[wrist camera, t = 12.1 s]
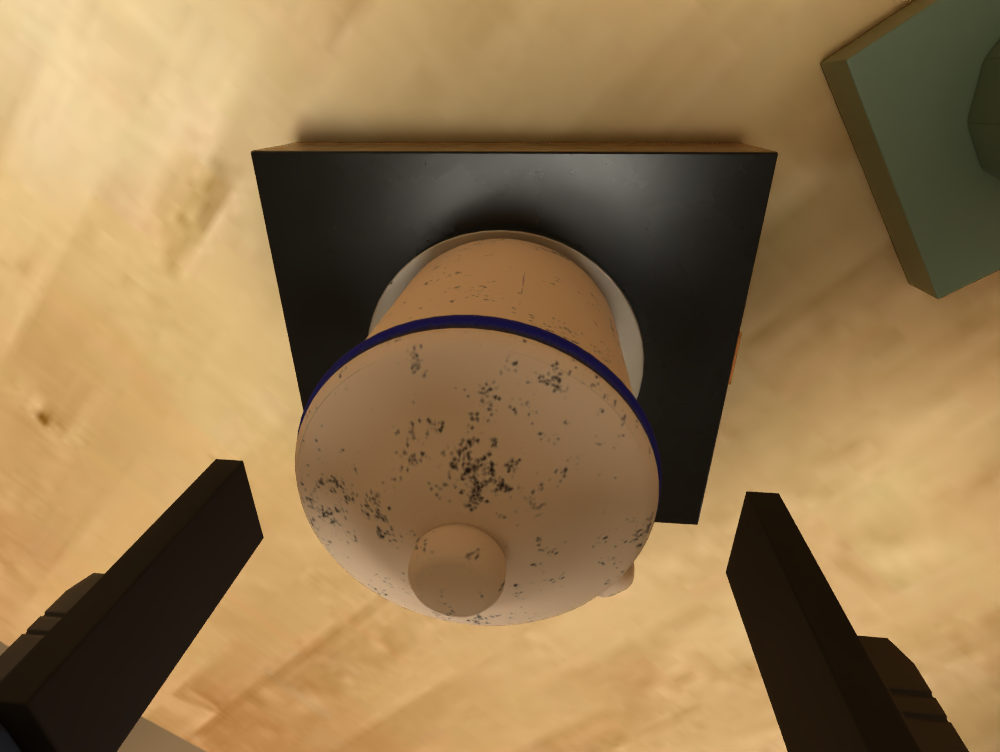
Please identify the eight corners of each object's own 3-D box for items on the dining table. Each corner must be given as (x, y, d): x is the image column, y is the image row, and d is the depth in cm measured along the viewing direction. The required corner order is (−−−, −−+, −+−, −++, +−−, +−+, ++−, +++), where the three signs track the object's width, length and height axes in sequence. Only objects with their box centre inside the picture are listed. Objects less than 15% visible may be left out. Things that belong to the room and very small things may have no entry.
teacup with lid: (341, 322, 21) (137, 539, 11) (527, 172, 18) (489, 277, 8) (525, 518, 25) (503, 817, 15) (705, 423, 22) (841, 720, 11)
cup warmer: (755, 142, 21) (802, 153, 17) (690, 472, 28) (712, 535, 24) (297, 142, 23) (240, 152, 18) (349, 454, 30) (316, 511, 26)
